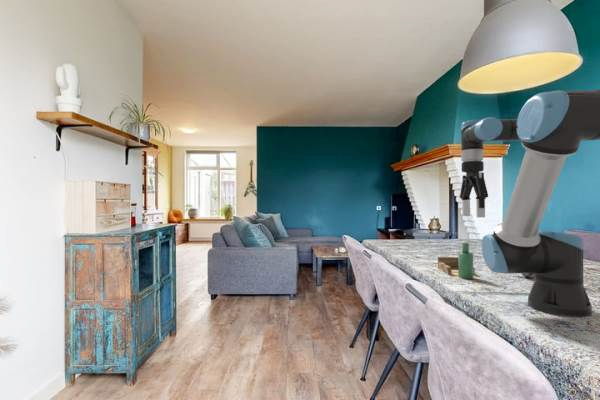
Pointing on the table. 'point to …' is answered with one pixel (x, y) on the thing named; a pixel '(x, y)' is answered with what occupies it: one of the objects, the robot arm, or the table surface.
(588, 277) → the table surface
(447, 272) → the cradle
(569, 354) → the table surface
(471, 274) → the bottle
